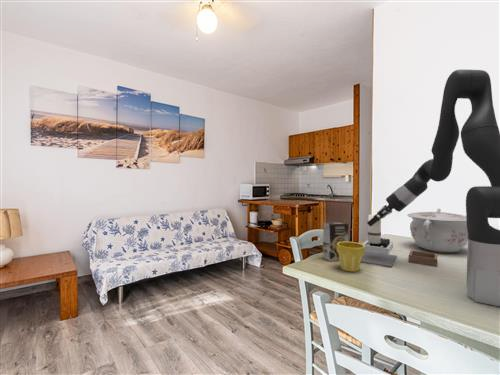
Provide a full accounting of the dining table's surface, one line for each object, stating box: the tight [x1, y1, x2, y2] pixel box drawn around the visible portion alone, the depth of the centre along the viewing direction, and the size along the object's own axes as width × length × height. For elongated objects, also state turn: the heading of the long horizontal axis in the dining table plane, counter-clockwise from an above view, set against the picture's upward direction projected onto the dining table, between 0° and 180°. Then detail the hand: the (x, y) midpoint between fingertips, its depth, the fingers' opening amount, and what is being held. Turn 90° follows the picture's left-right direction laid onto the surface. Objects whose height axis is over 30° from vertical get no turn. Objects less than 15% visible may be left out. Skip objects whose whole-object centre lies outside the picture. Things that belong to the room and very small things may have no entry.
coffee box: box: [322, 221, 349, 262], centre depth 118 cm, size 9×6×16 cm
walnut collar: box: [408, 249, 438, 267], centre depth 114 cm, size 10×10×3 cm
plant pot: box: [337, 241, 365, 273], centre depth 105 cm, size 10×10×10 cm
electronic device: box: [369, 237, 391, 248], centre depth 134 cm, size 7×11×5 cm
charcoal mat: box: [360, 251, 398, 268], centre depth 118 cm, size 18×16×1 cm
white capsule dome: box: [367, 214, 382, 244], centre depth 118 cm, size 5×5×12 cm
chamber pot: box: [407, 208, 468, 254], centre depth 134 cm, size 28×28×21 cm
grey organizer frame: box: [362, 239, 394, 255], centre depth 135 cm, size 16×12×2 cm
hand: (370, 223), depth 119 cm, fingers closed on white capsule dome, 5 cm apart
